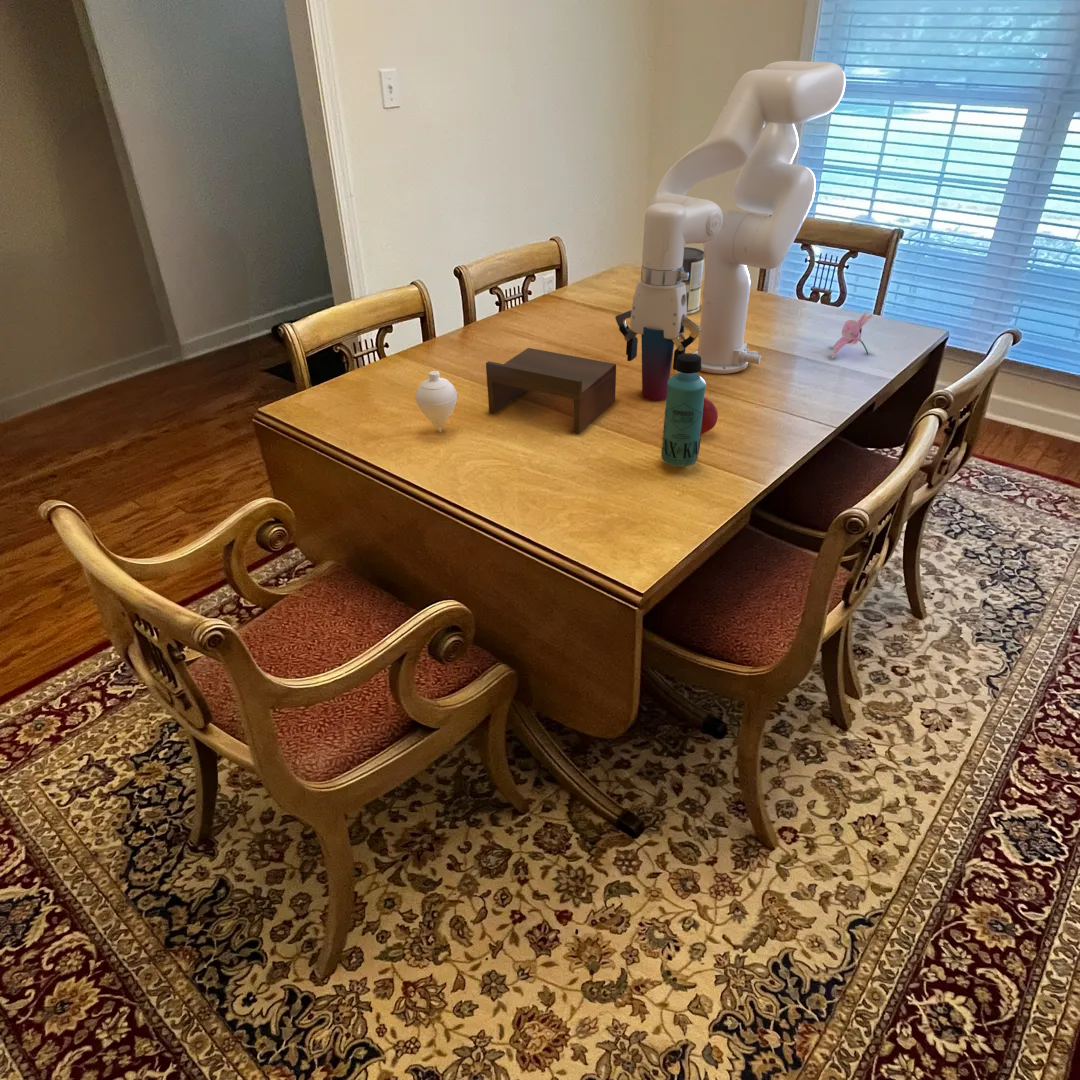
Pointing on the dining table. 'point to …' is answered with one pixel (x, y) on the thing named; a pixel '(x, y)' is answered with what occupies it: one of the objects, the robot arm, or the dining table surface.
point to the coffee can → (693, 277)
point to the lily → (852, 333)
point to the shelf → (554, 382)
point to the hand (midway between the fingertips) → (654, 363)
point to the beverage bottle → (683, 412)
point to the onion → (708, 416)
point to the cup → (655, 364)
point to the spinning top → (436, 399)
